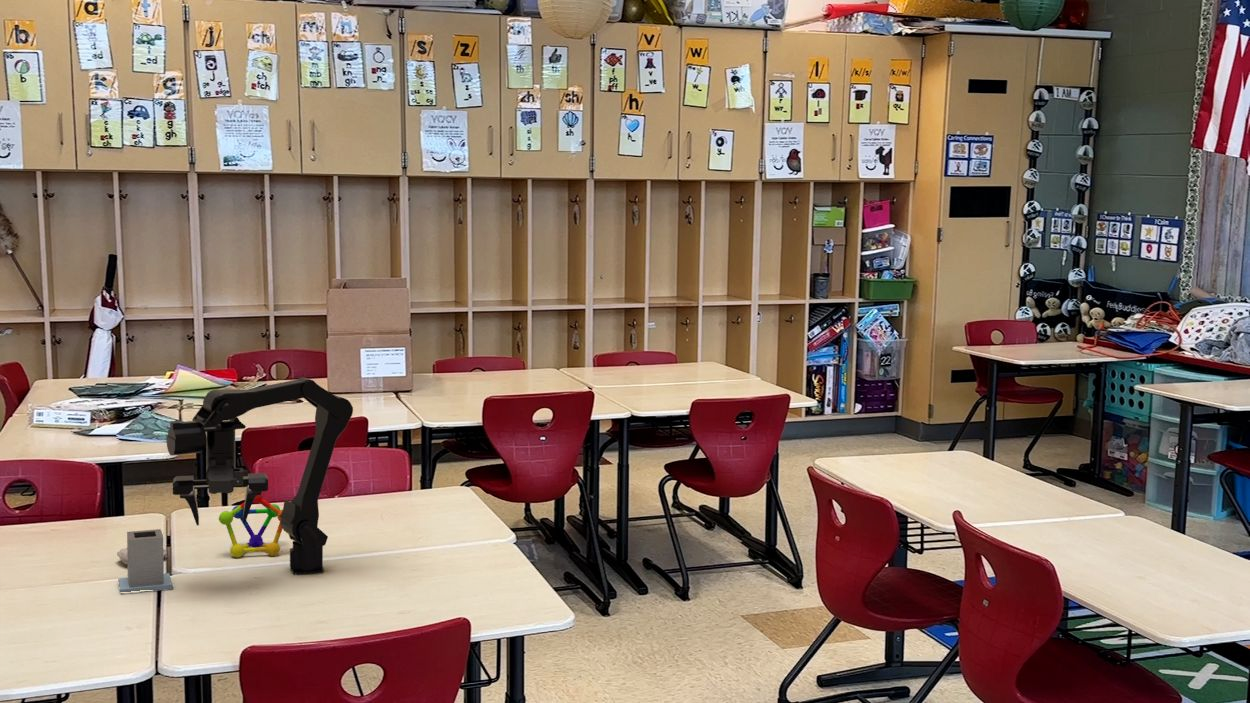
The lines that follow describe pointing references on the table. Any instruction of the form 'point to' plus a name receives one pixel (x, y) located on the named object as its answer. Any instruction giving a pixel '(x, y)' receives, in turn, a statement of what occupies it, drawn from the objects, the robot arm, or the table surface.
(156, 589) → the shaft stand
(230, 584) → the table surface
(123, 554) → the fossil
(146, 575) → the open metal box
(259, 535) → the educational toy
